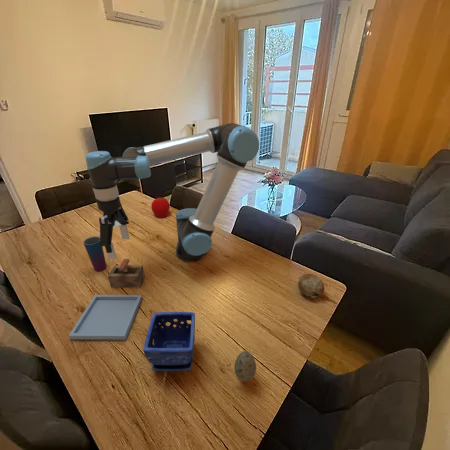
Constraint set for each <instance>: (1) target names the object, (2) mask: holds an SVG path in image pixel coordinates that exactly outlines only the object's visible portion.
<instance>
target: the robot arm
mask: <svg viewBox="0 0 450 450" xmlns="http://www.w3.org/2000/svg"><path fill="white" fill-rule="evenodd" d="M259 140H260V139H259V137H258V135H257V133H256V132H255V131H254V130H253V129H251V128H250V127H248V126H246V125H241V124H238V123H234V122H230V123H225V124H221V125H217V126H215V127H214V126H213V127H210V128H207V129H206V130H205V132H201V133H196V134H192V135H188V136H183V137H179V138H175V139H169V140H164V141H160V142H157V143H156V142H155V143H153V144H152V143H151V144H148V145H144V146H139V147H133V146H132V147H130V146H129V147H128V148H126V149H125V150H124V152H123V154H122V156H121V157H112V156H111V154H110V151H106V150H97V151H91V152H88V153H87V154H86V155H85V162H86V167H87V168H86V169H87V171H88V174H89V175H88V176H89V179H90V181H91V186H92V191H93V194H94V196H95V200H96V201H95V202H96V205H97V209H98V210H99V211H101V212H102V213H103V216H102V217H99V218H98V221H99V223H98V224H99V237H100V246H102V247H104V248H105V252H106V254H107V259H108V260H117V254H116V251H115V250H116V249H115V247H114V243H113V242H112V240H113V232H114V231H113V230H114V227H113V226H114V225H115V221H116V220H117V221H118V222H119V223H120V224H121V225H119V226H118V227H119V230H120V231H119V232H120V234H121V239H122V240H129V239H130V235H129V231H128V225H129V224H130V222H129V218H128V215H127V214H126V211H125V210H124V208H123V206H122V205H123V204H122V203H121V198H120V194H119V193H120V192H119V189H118V185H117V181H124V180H127V181H128V180H129V181H130V180H142V179H147V178H150V177H151V175H152V172H151V166H153V165H159V164H163V163H165V162H171V161H175V160H179V159H182V158H187V157H191V156H195V155H199V154H204V153H208V152H210V153H212V154H215V153H217V154H216V158H217V164H216V166H215V167H214V171H213V172H212V174H211V178H210V179H209V181H208V183H207V186H206V188H205V190H204V193H203V195H202V197H201V200H200V202H199V204H198V206H197V208H193V207H191V208H190V207H188V208H183V209H179V210H178V211H176V213H175V221H176V229H177V230H176V231H177V245H176V247H175V253H176V257H177V258H178V259H179V260H182V261H186V262H193V261H199V260H200V259H203V258H204V257H205V256H206V255H207V252H209V250H211V248H212V244H213V239H212V236H213V233H214V231H215V229H216V227H215V224H214V223H215V220H216V219H217V216H218V215H219V212H220V210H221V209H222V206H223V204H224V202H225V200H226V199H227V196H228V194H229V192H230V189H231V187H232V185H233V183H234V181H235V179H236V178H237V175H238V173H239V171H241V170H244V169H245V167H246V165H247V164H248V163H249V162H250V161H252V160H254V159H255V158H256V156H257V155H258V152H259V149H260V141H259Z"/></svg>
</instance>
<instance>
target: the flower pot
mask: <svg viewBox="0 0 450 450" xmlns="http://www.w3.org/2000/svg"><path fill="white" fill-rule="evenodd" d="M176 320H177V321H176ZM188 321H190V323H188ZM167 323H169V325H167ZM195 327H196V313H195V312H193V311H159V312H154V313H152V316H151V318H150V321H149V325H148V329H147V333H146V337H145V340H144V341H145V342H144V345H143V353H144V357H145V358H146V360H147V361H148V362H149V363H150V364H152V365H151V370H152V371H154V372H183V371H184V372H185V371H186V372H188V371H191V370H192V367H193V359H194V350H195V341H196V340H195V334H196V333H195V332H196V328H195Z"/></svg>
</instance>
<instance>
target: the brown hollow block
mask: <svg viewBox="0 0 450 450" xmlns="http://www.w3.org/2000/svg"><path fill="white" fill-rule="evenodd" d="M120 265H121V264H119V265H118V264H114V265H113V267H112V269H111V270H110V272H109V274H108V275H107V279H108V282H109V284H110V285H109V286H110V287H111V288H141V286H142V284H143V282H144V279H145V278H146V275H145V270H144V265H141V264H140V265H139V264H137V265H135V264H132V265H130V264H128V265H127V269H128V273H129V274H124V270H119V267H120Z"/></svg>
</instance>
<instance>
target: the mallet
mask: <svg viewBox="0 0 450 450" xmlns="http://www.w3.org/2000/svg"><path fill="white" fill-rule="evenodd" d="M129 264H130V259H129V258H124V259H123V260H122V262H121V263H120V264H119V265H120V267H119V270H124V274H129V273H128V269H127V265H129Z"/></svg>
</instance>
